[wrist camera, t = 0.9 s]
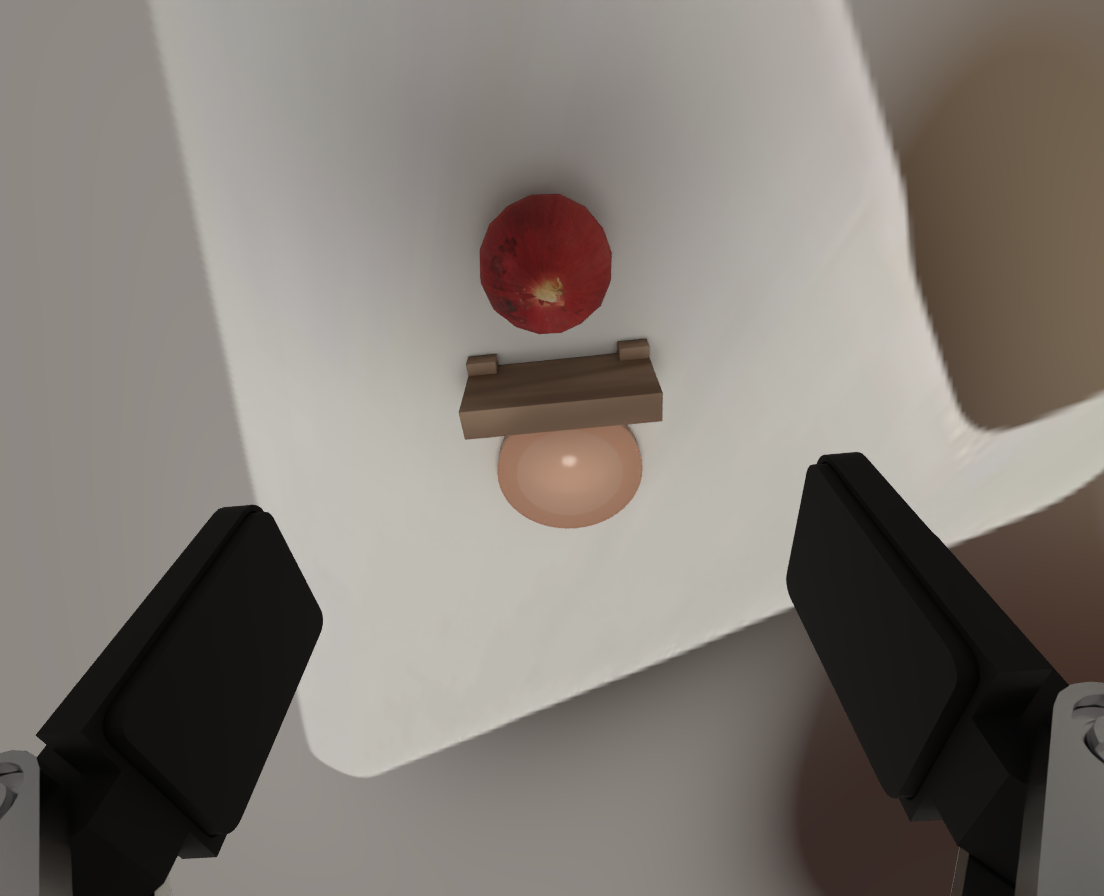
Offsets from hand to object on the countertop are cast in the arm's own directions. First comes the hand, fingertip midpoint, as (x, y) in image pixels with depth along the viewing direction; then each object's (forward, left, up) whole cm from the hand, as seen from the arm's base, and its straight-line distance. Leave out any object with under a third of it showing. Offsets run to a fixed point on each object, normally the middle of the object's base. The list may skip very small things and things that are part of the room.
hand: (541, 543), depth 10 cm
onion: (0, 0, -21) cm, 21 cm away
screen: (+7, 0, -21) cm, 22 cm away
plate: (+13, 0, -21) cm, 25 cm away
